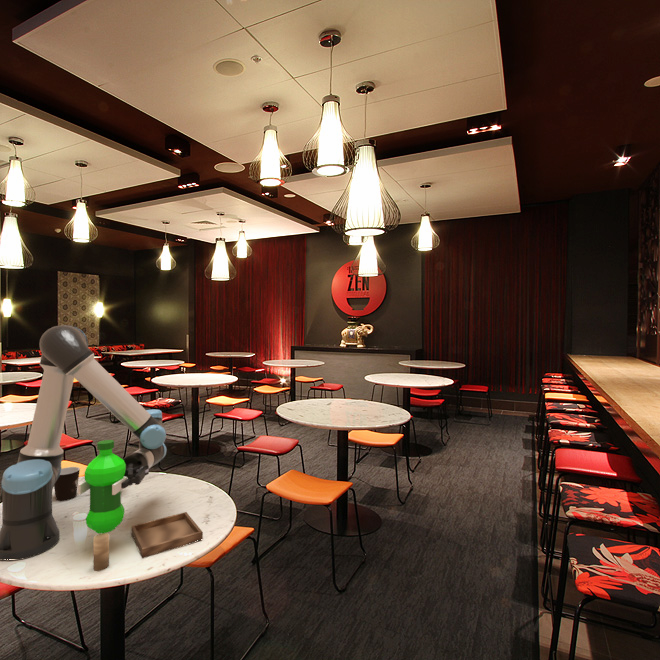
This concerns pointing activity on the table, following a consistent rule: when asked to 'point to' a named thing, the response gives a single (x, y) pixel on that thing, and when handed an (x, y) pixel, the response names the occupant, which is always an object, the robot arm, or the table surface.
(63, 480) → the coffee mug
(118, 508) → the plastic bottle
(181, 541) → the tray
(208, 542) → the table surface
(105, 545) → the peg
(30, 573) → the table surface
